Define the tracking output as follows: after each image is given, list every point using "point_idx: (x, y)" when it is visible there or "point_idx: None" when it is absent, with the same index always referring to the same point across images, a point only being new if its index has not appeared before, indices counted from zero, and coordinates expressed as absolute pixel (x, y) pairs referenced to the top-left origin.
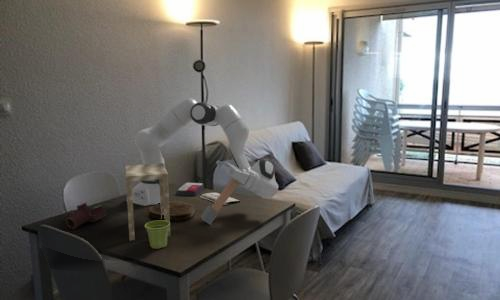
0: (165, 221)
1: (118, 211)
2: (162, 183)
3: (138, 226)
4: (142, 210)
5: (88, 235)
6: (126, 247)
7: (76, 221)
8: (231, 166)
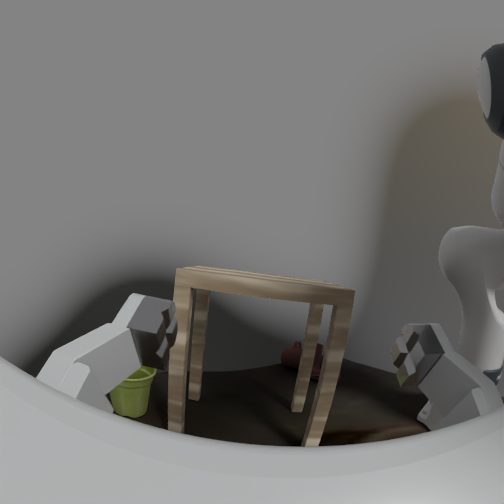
0: (136, 379)
1: (374, 396)
2: (326, 354)
3: (271, 415)
4: (385, 420)
5: (249, 372)
6: (162, 385)
7: (284, 355)
8: (206, 440)
